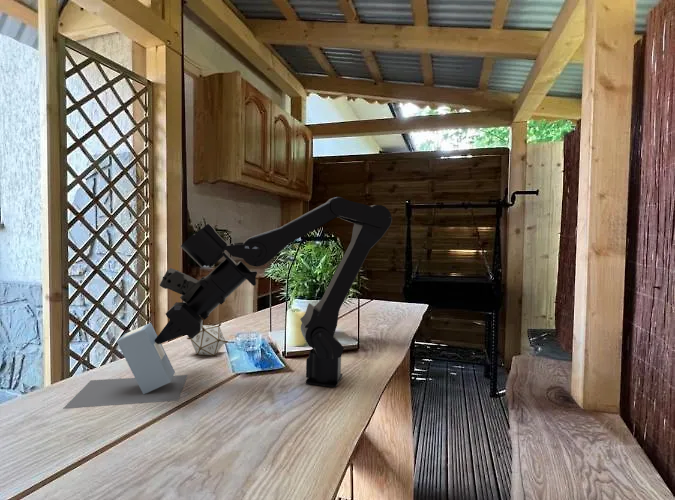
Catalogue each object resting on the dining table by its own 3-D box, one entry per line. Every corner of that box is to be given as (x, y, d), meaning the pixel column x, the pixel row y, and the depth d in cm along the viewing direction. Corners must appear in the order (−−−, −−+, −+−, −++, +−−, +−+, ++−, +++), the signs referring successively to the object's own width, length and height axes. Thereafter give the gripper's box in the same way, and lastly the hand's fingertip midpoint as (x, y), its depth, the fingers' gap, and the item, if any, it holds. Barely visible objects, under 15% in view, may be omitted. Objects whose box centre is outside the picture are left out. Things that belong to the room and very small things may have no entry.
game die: (215, 369, 95) (240, 335, 97) (200, 368, 87) (228, 331, 89) (189, 347, 98) (214, 315, 100) (172, 345, 89) (200, 309, 91)
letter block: (175, 371, 76) (151, 322, 75) (170, 381, 71) (144, 328, 70) (150, 383, 75) (124, 333, 74) (143, 394, 70) (116, 340, 69)
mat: (187, 377, 80) (187, 374, 80) (178, 403, 69) (178, 400, 68) (90, 383, 76) (90, 380, 76) (62, 411, 64) (62, 408, 64)
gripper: (194, 251, 82) (137, 302, 80) (180, 258, 64) (106, 325, 62) (231, 288, 84) (177, 339, 82) (228, 305, 66) (158, 371, 64)
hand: (156, 342), depth 73 cm, fingers closed, pressing on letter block
